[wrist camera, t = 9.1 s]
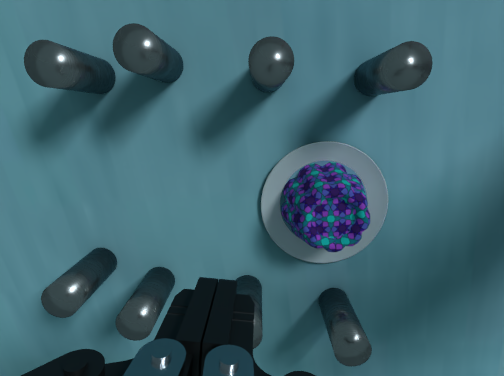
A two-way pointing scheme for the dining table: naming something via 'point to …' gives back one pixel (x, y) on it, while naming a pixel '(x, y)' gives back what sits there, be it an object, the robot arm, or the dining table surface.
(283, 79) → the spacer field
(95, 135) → the dining table surface
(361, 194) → the pudding
